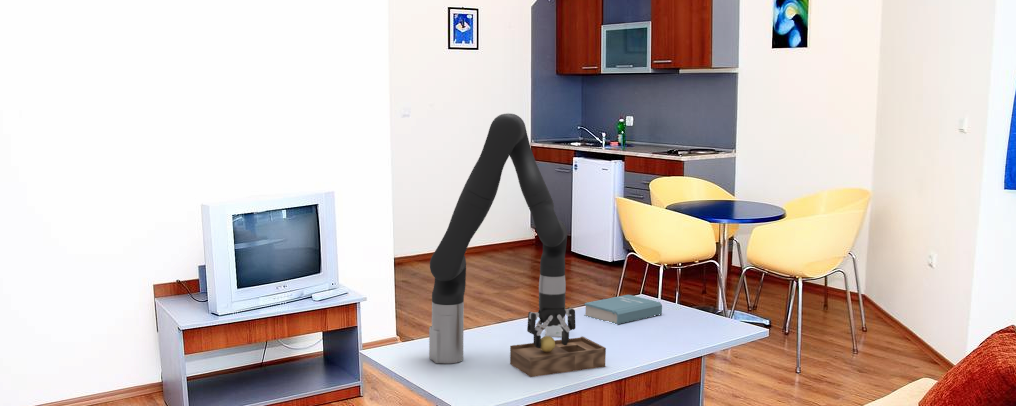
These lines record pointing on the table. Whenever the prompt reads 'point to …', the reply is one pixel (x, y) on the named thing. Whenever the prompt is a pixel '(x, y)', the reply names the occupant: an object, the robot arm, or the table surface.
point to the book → (622, 309)
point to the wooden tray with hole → (558, 357)
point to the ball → (547, 344)
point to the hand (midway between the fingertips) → (551, 346)
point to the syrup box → (554, 330)
